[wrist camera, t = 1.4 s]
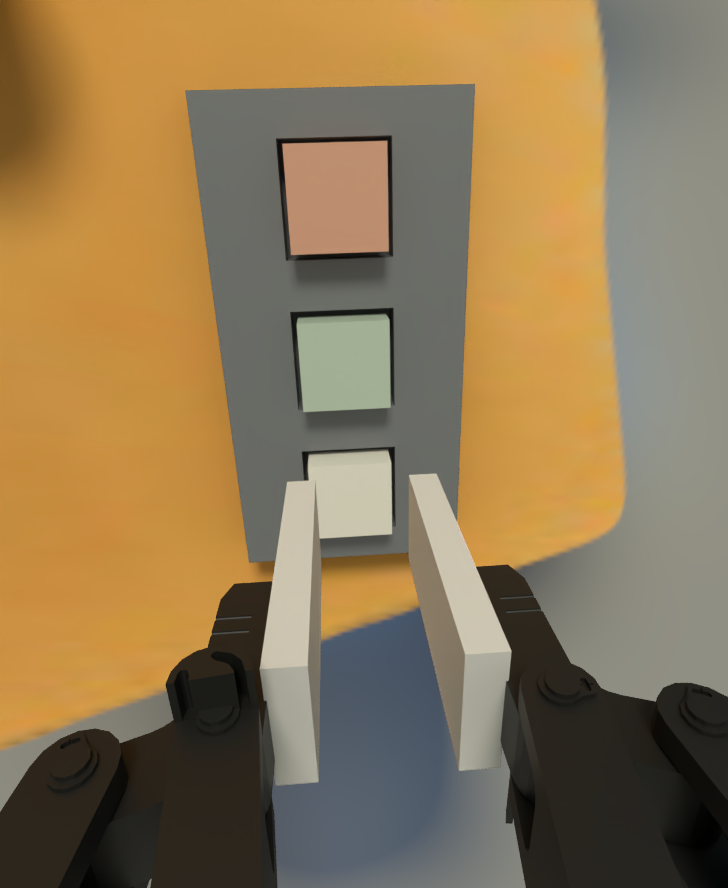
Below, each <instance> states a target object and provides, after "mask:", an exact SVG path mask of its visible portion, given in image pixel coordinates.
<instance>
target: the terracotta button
mask: <svg viewBox="0 0 728 888" xmlns="http://www.w3.org/2000/svg"><path fill="white" fill-rule="evenodd" d="M282 146H283V159H284V171H285V184H286V197H287V209H288V222H289V235H290V248H291V255H305V254H332V253H359V252H386V251H389V238H388V156H387V141H364V142H327V143H290V144H282Z"/></svg>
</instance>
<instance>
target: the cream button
mask: <svg viewBox="0 0 728 888" xmlns="http://www.w3.org/2000/svg"><path fill="white" fill-rule="evenodd" d="M308 477H309V481H310V480H315V481H316V495H317V508H318V522H319V536H320V539H321V538H337V537H354V536H370V535H387V534H392V483H391V460H390V456H389V452H388V448H386V449H367V450H348V451H330V452H311V453H309V457H308Z"/></svg>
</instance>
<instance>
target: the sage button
mask: <svg viewBox="0 0 728 888" xmlns="http://www.w3.org/2000/svg"><path fill="white" fill-rule="evenodd" d="M297 337H298V350H299V362H300V375H301V388H302V401H303V412H316V411H336V410H356V409H376V408H391V402H390V320H389V318H388V317H387V315H386V313H379V314H355V315H331V316H307V317H298V320H297Z"/></svg>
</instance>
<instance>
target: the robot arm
mask: <svg viewBox="0 0 728 888" xmlns="http://www.w3.org/2000/svg"><path fill="white" fill-rule="evenodd" d="M409 563H410V567H411V571H412V575H413V580H414V584H415V588H416V592H417V596H418V601H419V605H420V609H421V613H422V617H423V622H424V626H425V630H426V634H427V638H428V643H429V647H430V651H431V655H432V660H433V663H434V668H435V672H436V676H437V681H438V685H439V689H440V693H441V697H442V701H443V706H444V710H445V714H446V719H447V723H448V727H449V731H450V735H451V739H452V743H453V748H454V752H455V756H456V760H457V764H458V769H459V771H462V770H474V769H487V768H499V767H500V765H501V754H502V748H503V751H504V754H505V757H506V760H507V763H508V766H509V769H510V780H509V790H508V798H507V809H506V823H512V822H513V819H514V825H515V830H516V835H517V841H518V846H519V852H520V858H521V863H522V869H523V874H524V880H525V885H526V888H728V697H726V696H724V695H722V694H720V693H718V692H717V691H715V690H712V689H710V688H708V687H704V686H701V685H697V684H693V683H674V684H672V685H670V686H667V687H664V688H663V689H662V691H661V692H660V694H659V695H658V697H657V700H656V702H654V701H649V700H644V699H639V698H634V697H629V696H623V695H619V694H616V693H612V692H608V691H606V690H604V689H602V688H600V686H599V685H598V683H597V682H596V680H595V679H594V678H593V677H592V676H591V675H590V674H588V673H587V672H586V671H585V670H583V669H582V668H580V667H578V666H575V665H573V664H571V663H570V661H569V659H568V657H567V656H566V654H565V652H564V650H563V648H562V646H561V644H560V643H559V641H558V639H557V637H556V635H555V633H554V632H553V630H552V628H551V626H550V624H549V622H548V621H547V619H546V617H545V615H544V613H543V612H541V608H540V606H539V604H538V602H537V600H536V598H534V596H533V593H532V591H531V589H530V587H529V585H528V584H527V582H526V580H525V578H524V577H522V576H521V575H520V574H519V573H517V572H516V571H515V570H514V569H513V568H511V567H510V566H509V565H497V566H481V567H476V566H475V564H474V561H473V559H472V557H471V554H470V552H469V549H468V547H467V545H466V542H465V540H464V538H463V535H462V533H461V530H460V528H459V526H458V523H457V521H456V519H455V516H454V514H453V512H452V509H451V507H450V504H449V502H448V500H447V497H446V495H445V493H444V490H443V488H442V485H441V483H440V481H439V478H438V476H437V474H418V475H409ZM321 572H322V563H321V549H320V536H319V522H318V508H317V495H316V481H315V480H310V481H292V482H287V487H286V493H285V500H284V507H283V514H282V521H281V528H280V534H279V541H278V548H277V555H276V562H275V568H274V575H273V581H271V582H255V583H239V584H234V585H233V586H232V587H231V588H230V590H229V591H228V592H227V593H226V594H225V595H224V596H223V598H222V599H221V601H220V604H219V608H218V612H217V615H216V621H215V622H214V626H213V630H212V636H211V637H210V641H209V644H208V648H205V649H202V650H199V651H196V652H194V653H192V654H191V655H189V656H187V657H186V658H184V659H182V660H181V661H180V662H179V663H178V665H177V666H176V667H175V668H174V669H173V670H172V671H171V673H170V675H169V677H168V680H167V682H166V688H167V693H168V697H169V701H170V706H171V710H172V714H173V719H174V720H173V721H172V722H170V723H169V724H167V725H166V726H164V727H162V728H160V729H158V730H156V731H153V732H151V733H149V734H146V735H143V736H140V737H137V738H134V739H131V740H129V741H126V742H123V743H119V740H118V739H117V738H116V737H115V736H114V735H113V734H111V733H110V732H108V731H104V730H99V729H90V730H83V731H77V732H75V733H73V734H70V735H68V736H66V737H63V738H61V739H59V740H58V741H57V742H55V743H54V744H52V745H51V746H50V747H48V748H47V749H46V750H44V751H43V752H42V753H41V754H40V755H39V757H38V758H37V759H36V760H35V761H34V763H33V764H32V765H31V766H30V767H29V769H28V771H27V772H26V773H25V775H24V777H23V778H22V780H21V781H20V783H19V784H18V786H17V787H16V789H15V790H14V792H13V793H12V795H11V796H10V798H9V799H8V801H7V802H6V804H5V806H4V807H3V809H2V810H1V812H0V888H147V885H148V882H149V880H150V879H151V878H152V881H151V887H150V888H277V869H276V845H275V820H274V810H273V803H272V785H273V776H274V775H275V782H276V785H289V784H302V783H313V782H318V778H319V777H318V776H319V713H320V711H319V709H320V642H321Z"/></svg>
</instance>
